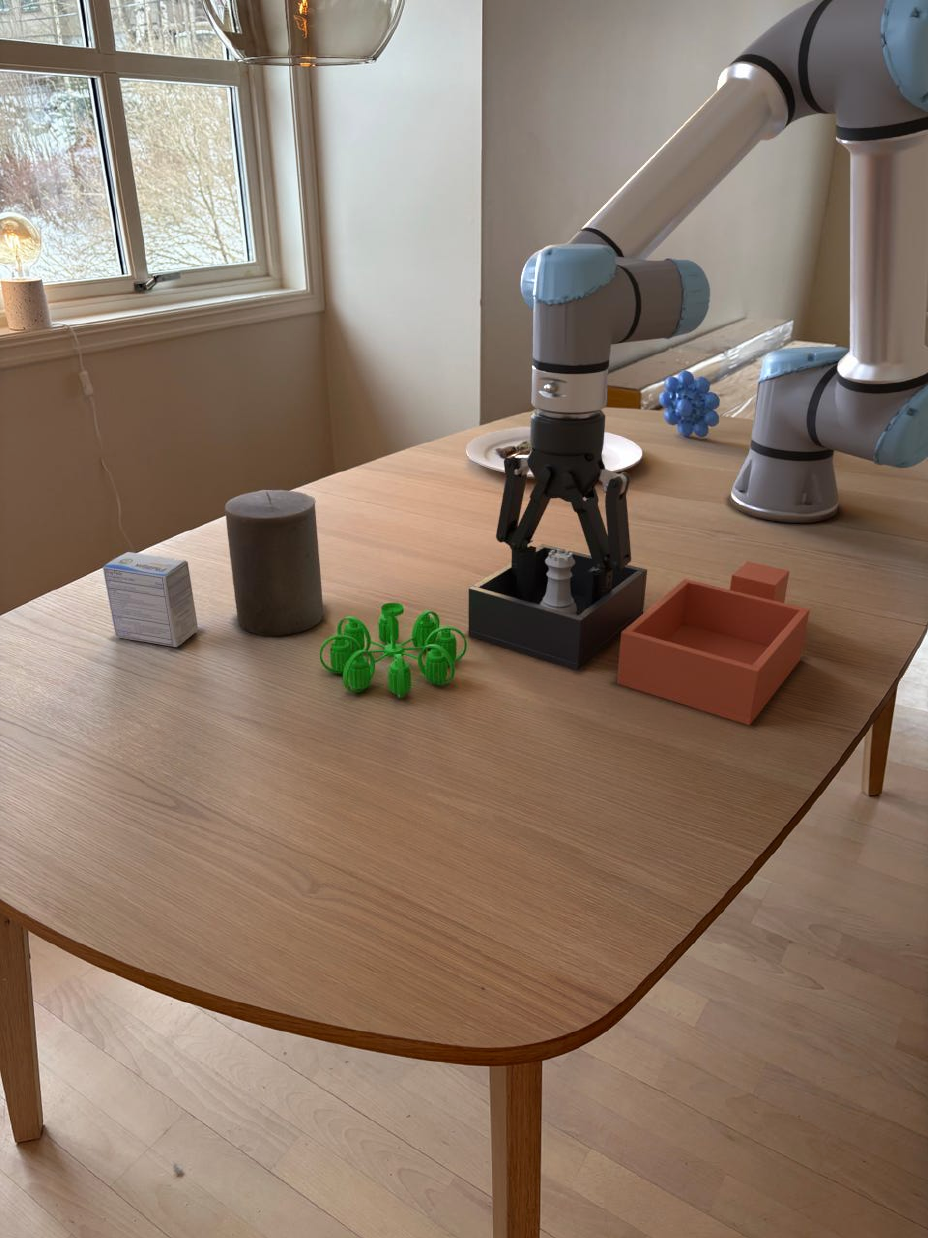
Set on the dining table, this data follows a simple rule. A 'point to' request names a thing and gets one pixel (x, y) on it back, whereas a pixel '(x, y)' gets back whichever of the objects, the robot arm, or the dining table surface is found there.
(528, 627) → the charcoal bin
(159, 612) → the medicine box
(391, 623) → the chandelier
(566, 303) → the robot arm
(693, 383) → the grapes
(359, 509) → the dining table surface
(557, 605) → the rook chess piece
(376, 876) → the dining table surface
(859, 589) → the dining table surface
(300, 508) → the pillar candle
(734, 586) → the terracotta block
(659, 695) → the terracotta bin
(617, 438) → the plated food
